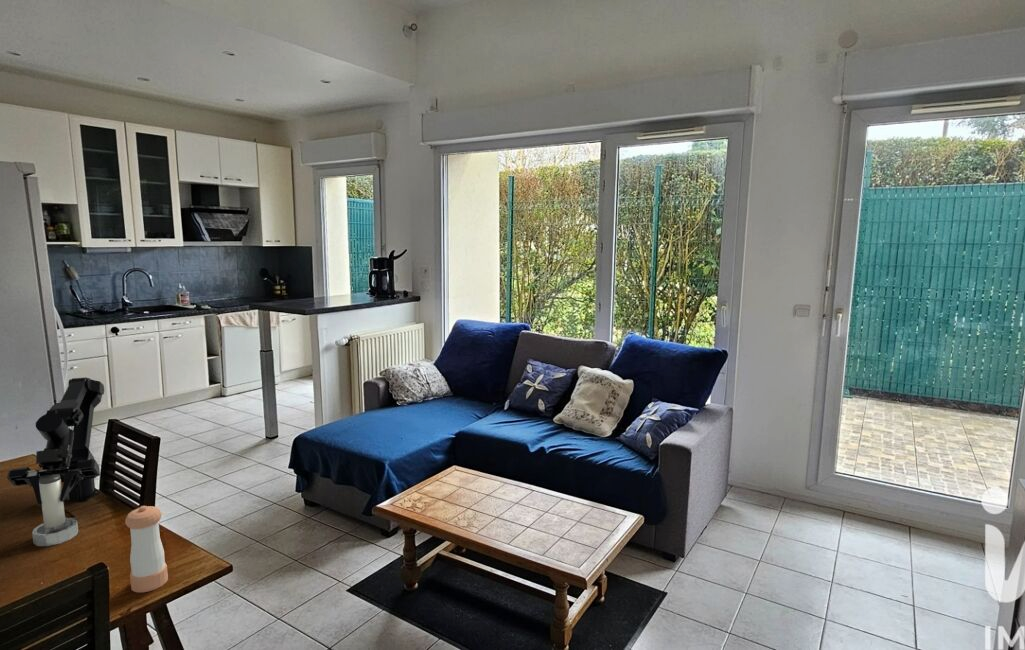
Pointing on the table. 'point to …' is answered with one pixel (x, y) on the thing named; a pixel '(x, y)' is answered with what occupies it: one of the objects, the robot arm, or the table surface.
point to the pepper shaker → (146, 550)
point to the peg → (51, 500)
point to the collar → (46, 539)
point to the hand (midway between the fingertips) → (50, 502)
